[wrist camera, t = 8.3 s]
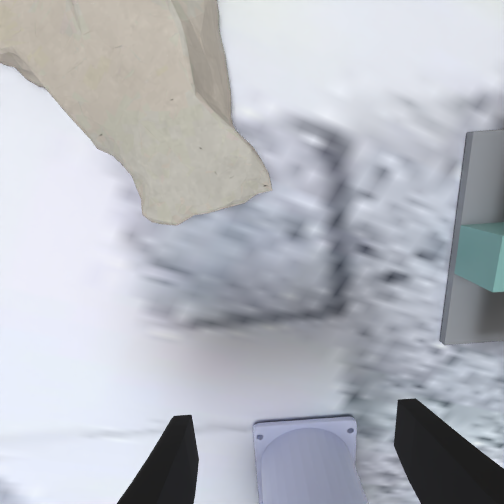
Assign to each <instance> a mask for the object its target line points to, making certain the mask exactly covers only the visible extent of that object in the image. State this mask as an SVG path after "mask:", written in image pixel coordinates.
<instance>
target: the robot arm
mask: <svg viewBox="0 0 504 504" xmlns="http://www.w3.org/2000/svg"><path fill="white" fill-rule="evenodd" d="M349 428H350V429H349ZM356 435H357V423H356V420H355V419H354V418H353V417H336V418H322V419H308V420H294V421H280V422H266V423H257V424H255V425H254V426H253V438H254V449H255V460H256V471H257V483H258V494H259V504H369V503H368V500H367V498H366V495H365V492H364V490H363V487H362V484H361V481H360V479H359V476H358V473H357V470H356V468H355V459H356ZM394 447H395V449H396V451H397V454H398V456H399V459H400V461H401V464H402V466H403V468H404V471H405V473H406V475H407V477H408V480H409V482H410V484H411V485H412V487H413V489H414V491H415V493H416V495H417V497H418V499H419V500H420V502H421V504H504V469H503V468H502V467H500V466H499V465H498V464H497V463H495V462H494V461H493V460H491V459H490V458H489V457H487V456H486V455H485V454H484V453H482V452H481V451H480V450H478V449H477V448H476V447H475V446H473V445H472V444H471V443H470V442H468V441H467V440H466V439H465V438H463V437H462V436H461V435H460V434H458V433H457V432H456V431H455V430H454V429H452V428H451V427H450V426H449V425H447V424H446V423H445V422H444V421H443V420H441V419H440V418H439V417H438V416H436V415H435V414H434V413H433V412H432V411H430V410H429V409H428V408H427V407H426V406H424V405H423V404H422V403H421V402H419V401H418V400H417V399H416V398H415V399H402V400H398V406H397V417H396V428H395V439H394ZM198 462H199V457H198V451H197V445H196V439H195V433H194V427H193V421H192V415H181V416H174V417H173V418H172V419H171V421H170V422H169V424H168V426H167V427H166V429H165V431H164V433H163V434H162V436H161V438H160V439H159V441H158V443H157V444H156V446H155V447H154V449H153V451H152V452H151V454H150V455H149V457H148V459H147V460H146V462H145V463H144V465H143V466H142V468H141V469H140V471H139V472H138V474H137V475H136V477H135V478H134V480H133V481H132V483H131V484H130V486H129V487H128V489H127V490H126V491H125V493H124V494H123V496H122V497H121V498H120V500H119V501H118V503H117V504H193V503H194V498H195V490H196V482H197V472H198Z"/></svg>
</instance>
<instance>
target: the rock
mask: <svg viewBox="0 0 504 504" xmlns="http://www.w3.org/2000/svg"><path fill="white" fill-rule="evenodd" d="M119 46H120V47H119ZM116 47H117V48H116ZM0 63H2V64H4V65H7V66H12V67H15V68H16V69H17V70H18V71H19V72H20V73H21V74H22V75H23V76H24V77H25V78H26V79H27V80H28V81H30V82H32V83H34V84H36V85H37V86H39V87H45V88H46V89H47V91H48V92H49V93H50V94H51V96H52V97H53V98H54V99H55V100H56V101H57V103H58V104H59V105H60V106H61V107H62V108H63V110H64V111H65V112H66V113H67V114H68V115H69V117H70V118H71V119H72V120H73V121H74V122H75V123H76V124H77V125H78V126H79V127H80V129H81V130H82V131H83V132H84V133H85V134H86V135H87V136H88V137H89V138H90V139H91V141H92V142H93V144H94V145H95V146H96V148H97V149H99V150H101V151H104V152H106V153H108V154H110V155H113V156H114V157H115V158H116V159H117V160H118V161H119V162H120V163H121V164H122V165H123V166H124V168H125V169H126V170H127V171H128V172H129V173H130V175H131V176H132V178H133V180H134V183H135V185H136V188H137V190H138V192H139V195H140V197H141V206H142V214H143V216H145V217H146V218H147V219H149V220H150V221H151V222H154V223H159V224H167V225H179V224H180V223H182V222H184V221H185V220H187V219H189V218H190V217H192V216H194V215H200V214H206V213H210V212H214V211H217V210H221V209H224V208H228V207H231V206H235V205H239V204H244V203H245V202H247V201H248V200H249V199H251V198H252V197H254V196H255V195H257V194H259V193H264V192H268V191H272V186H271V181H270V177H269V173H268V171H267V170H266V168H265V166H264V164H263V162H262V160H261V159H260V157H259V156H258V154H257V152H256V151H255V149H254V148H253V146H251V145H250V144H249V143H248V142H247V141H246V140H245V139H244V138H243V137H242V136H241V135H240V134H239V133H238V132H236V130H235V128H234V126H233V123H232V119H231V90H230V84H229V78H228V72H227V65H226V56H225V52H224V48H223V44H222V40H221V36H220V31H219V12H218V5H217V0H0Z"/></svg>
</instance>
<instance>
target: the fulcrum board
mask: <svg viewBox="0 0 504 504" xmlns="http://www.w3.org/2000/svg"><path fill="white" fill-rule="evenodd" d="M494 341H504V129H503V130H489V131H475V132H468V133H467V137H466V145H465V153H464V160H463V168H462V175H461V183H460V191H459V198H458V206H457V214H456V221H455V229H454V237H453V244H452V252H451V260H450V267H449V275H448V283H447V290H446V298H445V306H444V313H443V321H442V328H441V336H440V342H442V343H443V344H444V345H453V344H467V343H480V342H494Z"/></svg>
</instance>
